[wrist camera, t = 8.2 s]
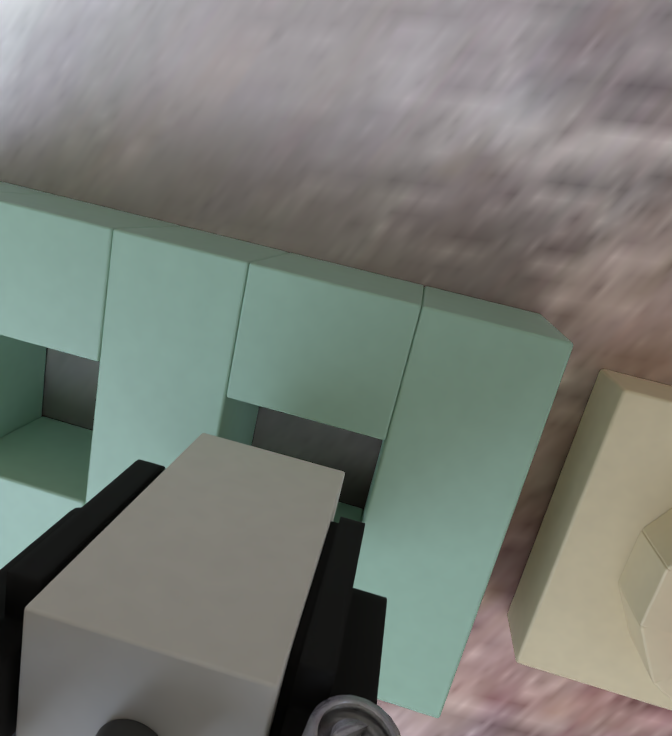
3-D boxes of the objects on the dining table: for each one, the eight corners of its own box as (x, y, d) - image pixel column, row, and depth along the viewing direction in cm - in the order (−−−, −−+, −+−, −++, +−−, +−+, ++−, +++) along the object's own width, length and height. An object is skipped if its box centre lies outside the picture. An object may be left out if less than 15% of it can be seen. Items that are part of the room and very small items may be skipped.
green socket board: (542, 314, 16) (575, 343, 12) (438, 622, 20) (439, 720, 16) (-40, 171, 18) (-166, 158, 14) (-48, 474, 21) (-151, 530, 18)
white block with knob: (345, 470, 13) (254, 764, 6) (314, 594, 14) (207, 964, 7) (202, 431, 13) (-41, 667, 6) (182, 554, 14) (-46, 873, 7)
